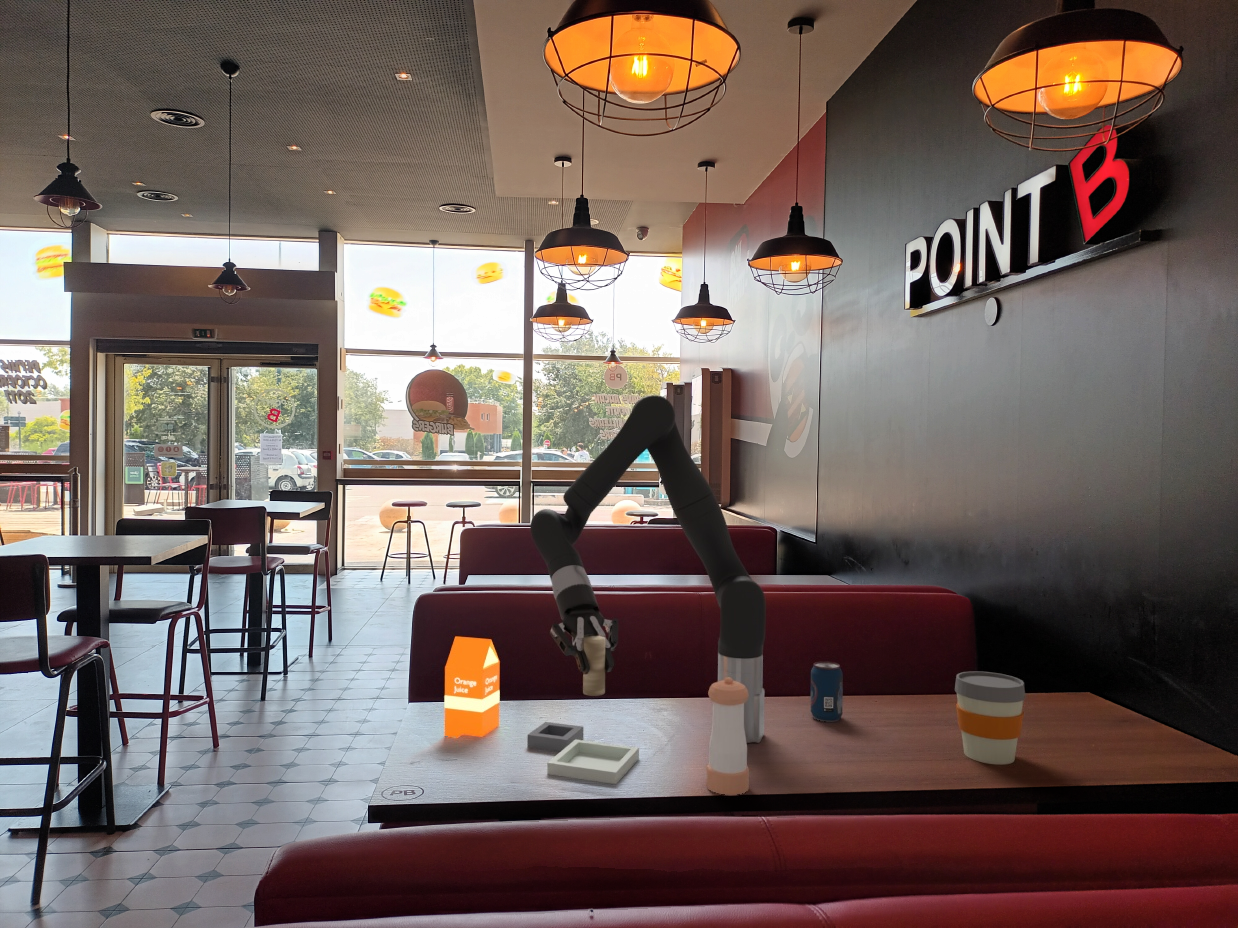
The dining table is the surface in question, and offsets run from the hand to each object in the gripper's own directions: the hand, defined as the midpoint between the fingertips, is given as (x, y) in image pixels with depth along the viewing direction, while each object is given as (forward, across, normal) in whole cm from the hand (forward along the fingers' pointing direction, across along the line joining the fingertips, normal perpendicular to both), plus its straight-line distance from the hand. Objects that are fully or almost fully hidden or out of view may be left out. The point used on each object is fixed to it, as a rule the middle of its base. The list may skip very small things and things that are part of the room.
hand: (598, 670), depth 145 cm
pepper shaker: (+24, +18, +3) cm, 30 cm away
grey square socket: (+2, -2, +24) cm, 25 cm away
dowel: (+2, 0, +5) cm, 5 cm away
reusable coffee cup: (+30, +74, -2) cm, 79 cm away
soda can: (+7, +60, +20) cm, 64 cm away
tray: (+12, 0, +14) cm, 19 cm away
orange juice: (-9, -15, +36) cm, 40 cm away
